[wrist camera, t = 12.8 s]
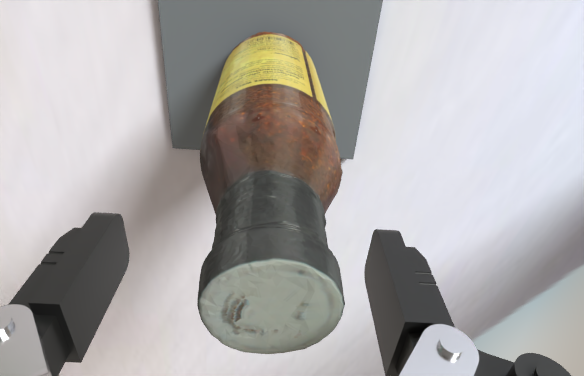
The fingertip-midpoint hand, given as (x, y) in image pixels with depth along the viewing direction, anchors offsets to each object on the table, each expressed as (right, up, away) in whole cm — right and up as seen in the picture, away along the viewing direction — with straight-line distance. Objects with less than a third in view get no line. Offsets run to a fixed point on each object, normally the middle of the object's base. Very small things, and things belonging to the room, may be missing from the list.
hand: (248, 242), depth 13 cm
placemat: (0, +10, +15) cm, 18 cm away
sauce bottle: (0, +10, +15) cm, 17 cm away
